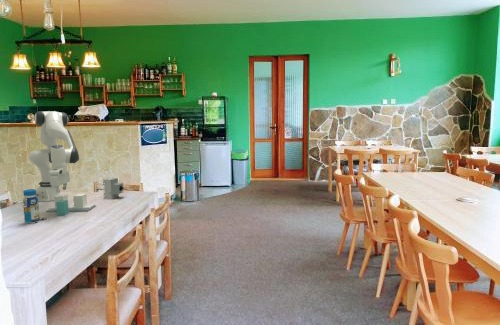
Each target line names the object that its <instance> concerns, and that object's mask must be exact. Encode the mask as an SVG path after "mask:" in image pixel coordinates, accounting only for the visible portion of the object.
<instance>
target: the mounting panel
mask: <svg viewBox="0 0 500 325" xmlns="http://www.w3.org/2000/svg"><path fill="white" fill-rule="evenodd" d="M68 197H69V196H68V193H65V194H64V193H60V194H59V195H56V196H54V200H53V201H54V205H52V206H50V207H47V210H46V211H45V212H46V213H57V206H56V202H57V201H59V200H68V201H69V198H68ZM96 206H97V205H96V204H88V198H87V193H77V194H75V195H73V204H70V205H69V204H68V210H69V213H76V212H79V213H82V212H83V213H85V212H89V211H91V210H93V209H94V208H96Z"/></svg>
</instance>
